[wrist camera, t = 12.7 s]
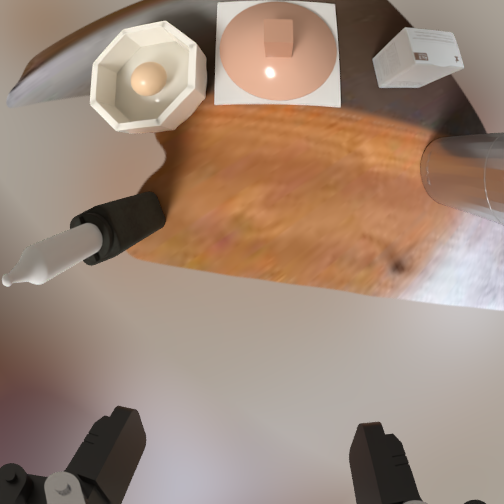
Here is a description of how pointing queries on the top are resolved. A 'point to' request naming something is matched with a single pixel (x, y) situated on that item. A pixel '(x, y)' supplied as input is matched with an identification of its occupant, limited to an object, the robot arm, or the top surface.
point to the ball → (148, 78)
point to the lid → (278, 51)
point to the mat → (233, 94)
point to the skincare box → (417, 58)
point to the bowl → (161, 104)
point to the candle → (90, 238)
